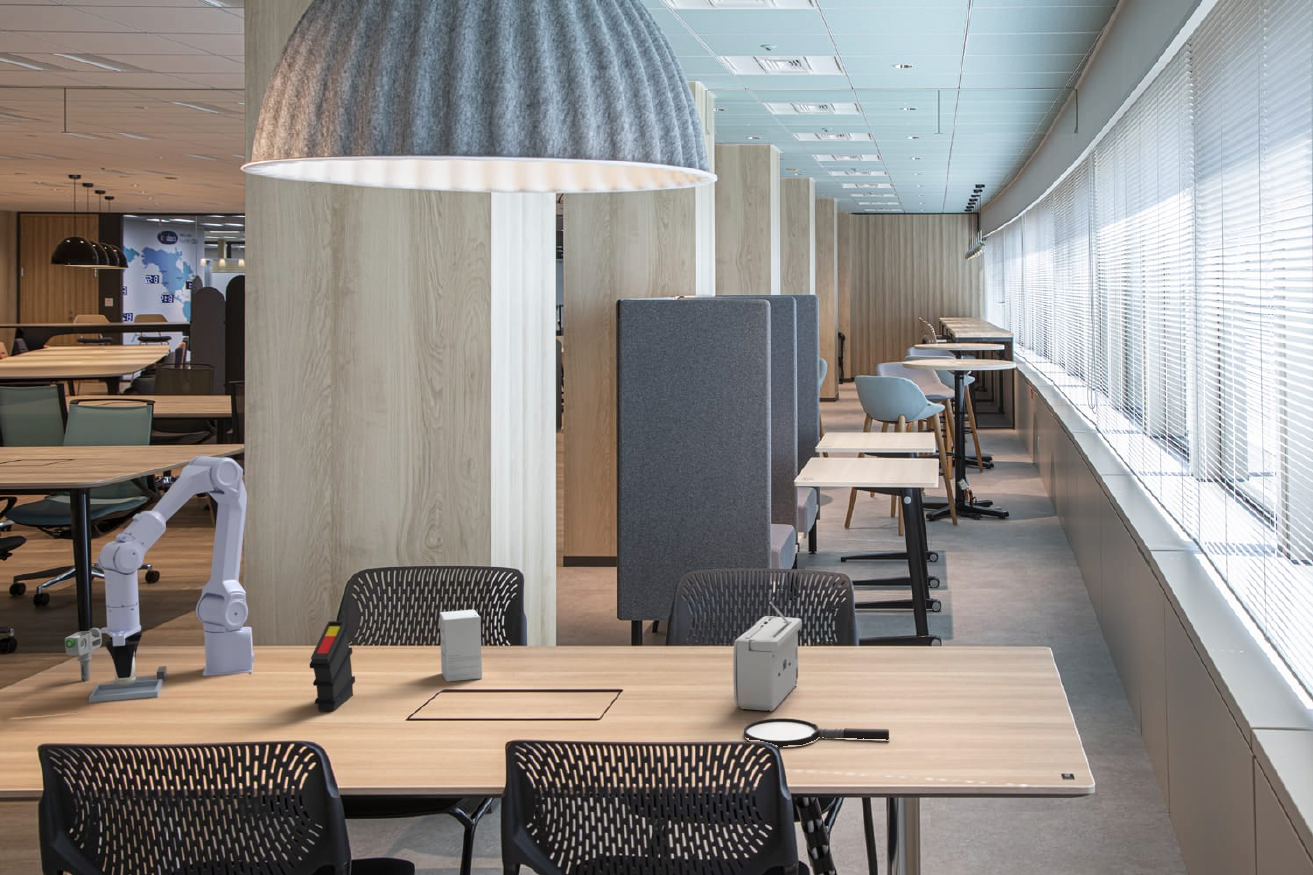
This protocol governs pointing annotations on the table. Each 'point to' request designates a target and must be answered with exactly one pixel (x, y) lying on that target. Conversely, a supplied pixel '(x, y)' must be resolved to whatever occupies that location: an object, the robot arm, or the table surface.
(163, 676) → the holder
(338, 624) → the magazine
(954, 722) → the table surface
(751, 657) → the stereo radio cassette player
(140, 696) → the tray
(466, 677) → the supplement box
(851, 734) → the magnifying glass
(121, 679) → the white cylindrical jar
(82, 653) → the mechanical component
